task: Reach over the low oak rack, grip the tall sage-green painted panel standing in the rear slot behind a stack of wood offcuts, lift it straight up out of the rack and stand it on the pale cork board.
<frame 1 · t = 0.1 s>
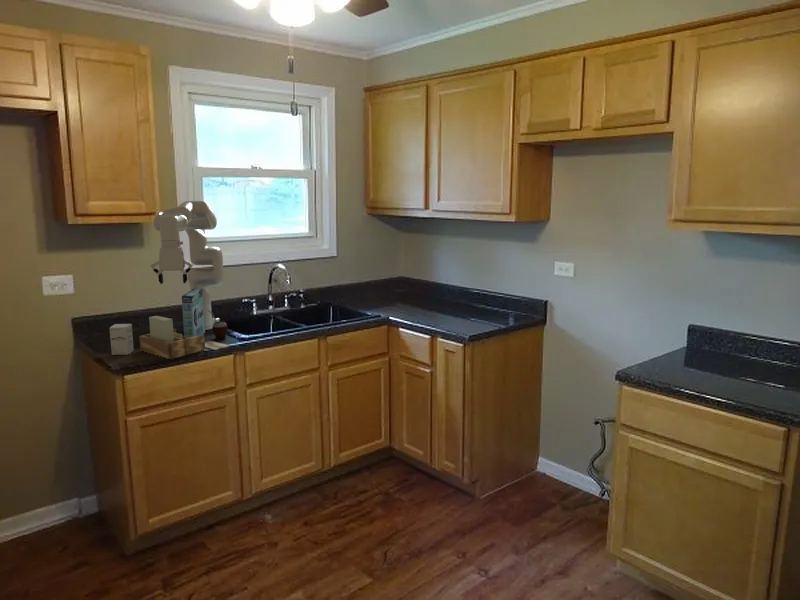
hand: (173, 283, 260), 31 cm above the countertop, tool pointing down, fingers open, 9 cm apart
oak rack: (172, 350, 267), on the countertop
gum box: (195, 338, 290), on the countertop
supplement box: (123, 353, 264), on the countertop
sage panel: (163, 352, 264), resting in oak rack
offcut pine: (174, 340, 272), point 3 cm above the countertop
mate gourd: (219, 339, 288), on the countertop
cork board: (212, 346, 274), on the countertop
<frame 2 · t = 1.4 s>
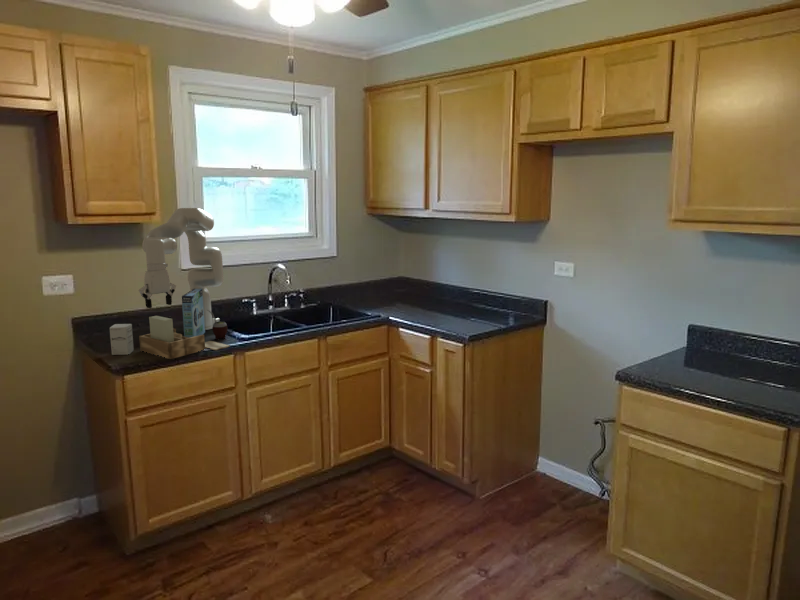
hand: (159, 306, 259), 21 cm above the countertop, tool pointing down, fingers open, 9 cm apart
nothing on the countertop moved.
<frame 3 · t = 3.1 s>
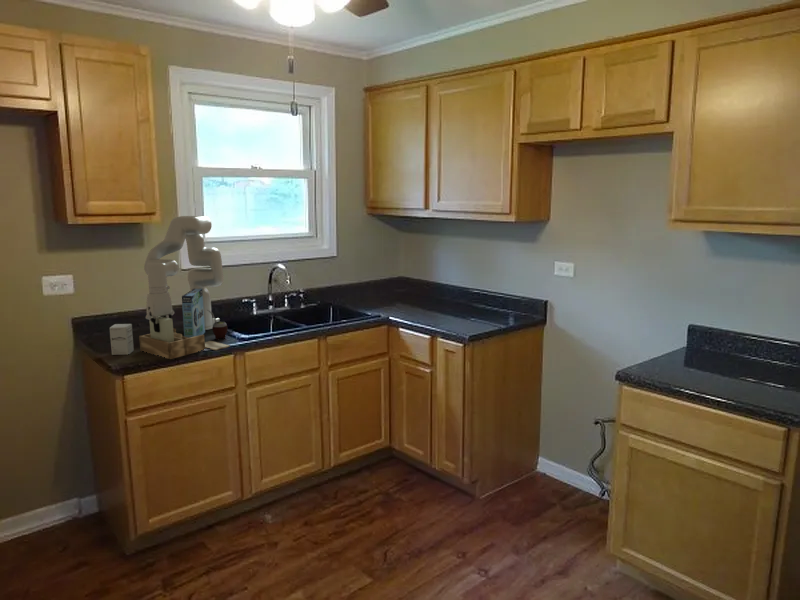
hand: (161, 330, 262), 10 cm above the countertop, tool pointing down, fingers closed on sage panel, 3 cm apart
sage panel: (163, 352, 264), resting in oak rack, touching gripper
offcut pine: (174, 340, 272), point 3 cm above the countertop, touching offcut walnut
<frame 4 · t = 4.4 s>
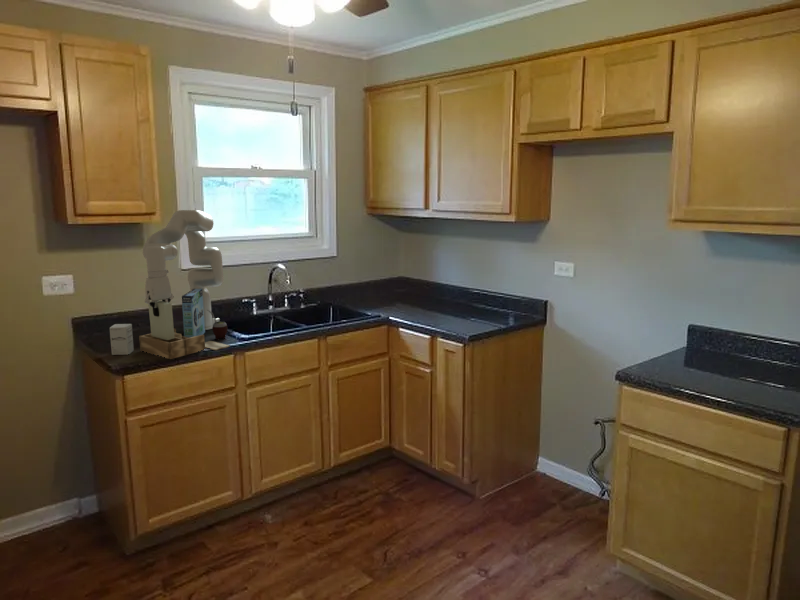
hand: (160, 314, 261), 17 cm above the countertop, tool pointing down, fingers closed on sage panel, 3 cm apart
sage panel: (162, 337, 263), point 7 cm above the countertop, touching gripper
everything else where it was.
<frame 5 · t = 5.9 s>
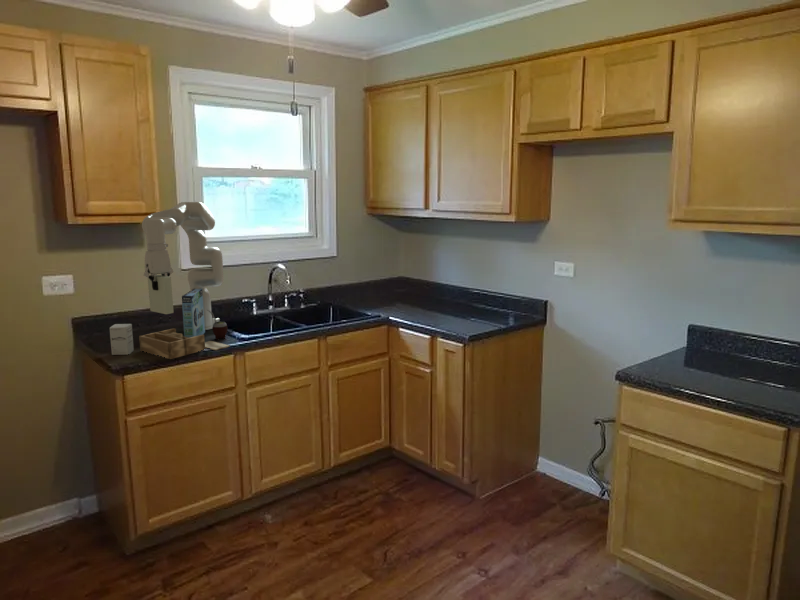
hand: (160, 288, 258), 29 cm above the countertop, tool pointing down, fingers closed on sage panel, 3 cm apart
sage panel: (161, 311, 261), point 19 cm above the countertop, touching gripper
everything else where it was.
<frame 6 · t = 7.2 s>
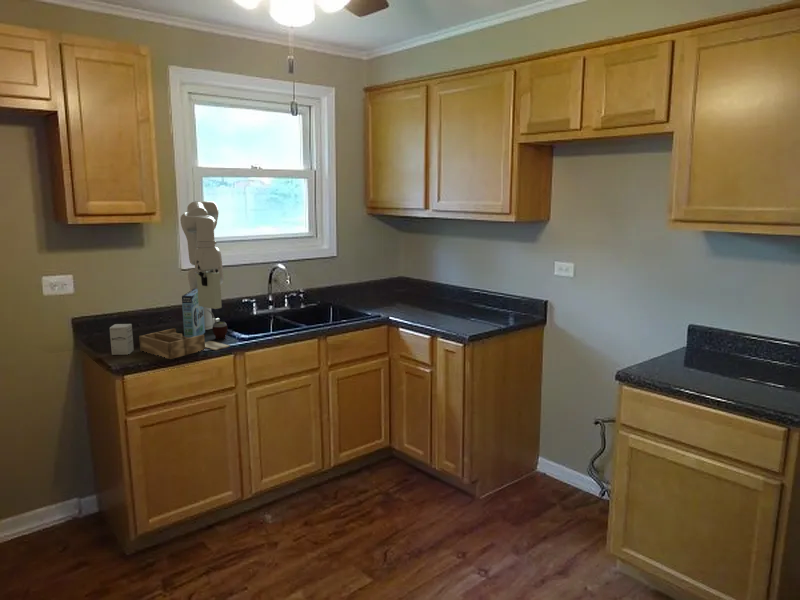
hand: (208, 284, 269), 29 cm above the countertop, tool pointing down, fingers closed on sage panel, 3 cm apart
sage panel: (210, 306, 271), point 19 cm above the countertop, touching gripper
everything else where it was.
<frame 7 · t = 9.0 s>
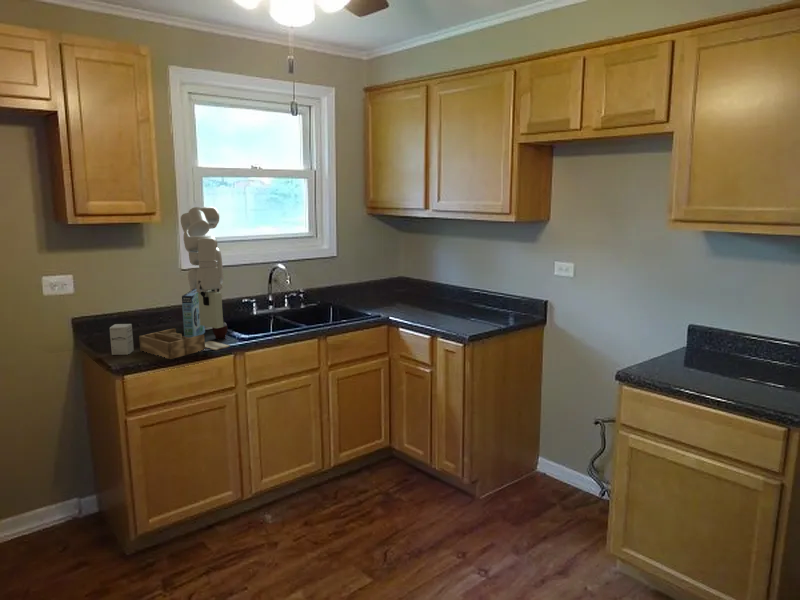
hand: (210, 304, 271), 20 cm above the countertop, tool pointing down, fingers closed on sage panel, 3 cm apart
sage panel: (211, 325, 272), point 10 cm above the countertop, touching gripper
everything else where it was.
when the fingers open (12 cm above the countertop, at t = 10.8 s): sage panel stays where it is, resting on cork board.
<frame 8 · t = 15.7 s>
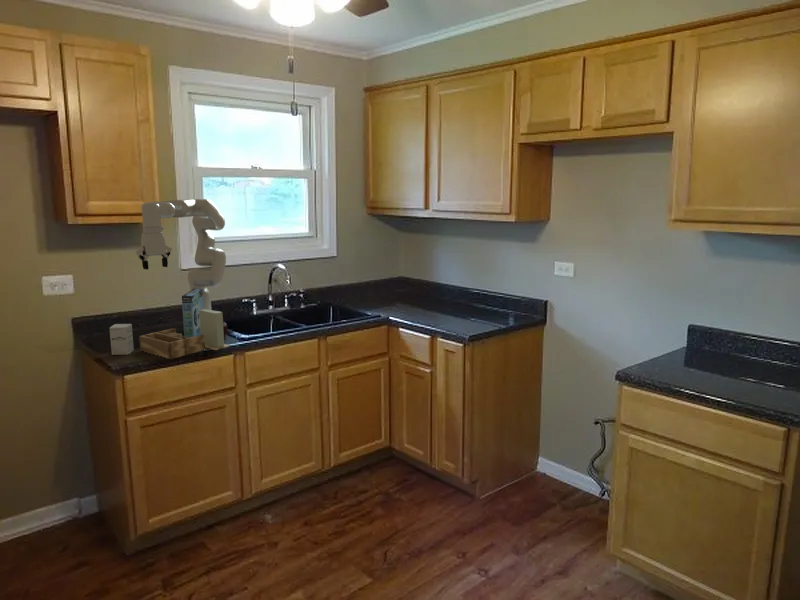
hand: (155, 268, 270), 36 cm above the countertop, tool pointing down, fingers open, 9 cm apart
sage panel: (212, 344, 274), point 1 cm above the countertop, touching cork board
at the end: sage panel inside the target area on the cork board (0.1 cm from its centre), point 0.6 cm above the cork board's base; sage panel tilted 0°; the gripper is holding nothing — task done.
